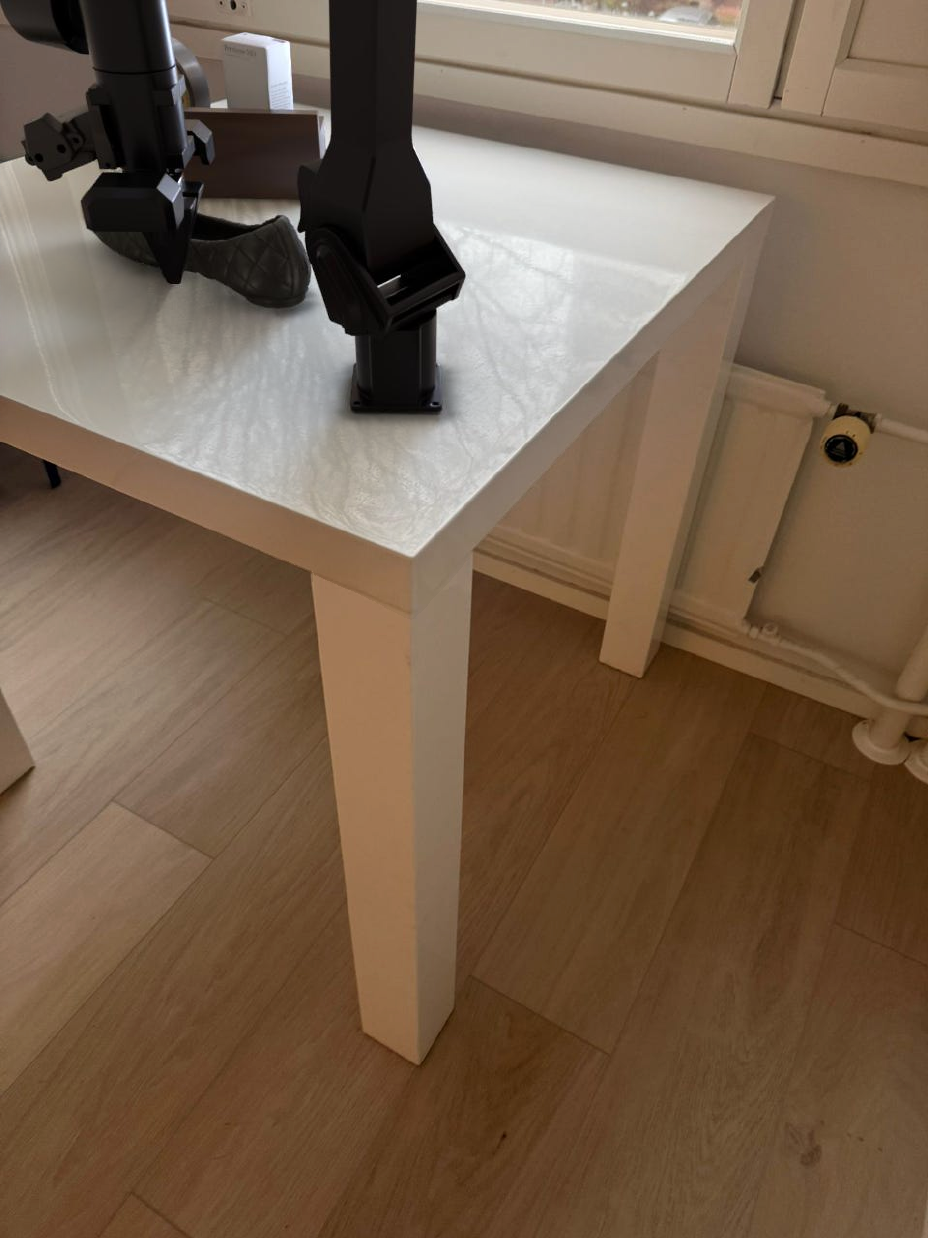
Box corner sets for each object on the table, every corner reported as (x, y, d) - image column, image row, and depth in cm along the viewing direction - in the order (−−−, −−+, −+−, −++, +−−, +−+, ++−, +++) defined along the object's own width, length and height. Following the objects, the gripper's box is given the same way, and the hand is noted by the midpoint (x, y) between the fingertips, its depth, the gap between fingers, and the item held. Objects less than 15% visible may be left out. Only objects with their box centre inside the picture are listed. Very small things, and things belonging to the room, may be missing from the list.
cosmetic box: (231, 164, 102) (215, 38, 94) (257, 154, 105) (243, 30, 97) (275, 175, 100) (262, 46, 92) (300, 164, 103) (290, 38, 95)
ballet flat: (138, 220, 89) (121, 137, 84) (346, 290, 79) (341, 201, 74) (64, 247, 84) (42, 160, 79) (277, 326, 74) (267, 233, 69)
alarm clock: (114, 157, 103) (76, -18, 91) (140, 143, 106) (107, -26, 95) (202, 170, 100) (175, -8, 89) (225, 155, 104) (202, -17, 93)
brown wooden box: (323, 199, 95) (317, 114, 90) (127, 195, 94) (108, 109, 89) (327, 176, 100) (322, 94, 95) (141, 172, 99) (125, 89, 94)
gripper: (54, 36, 71) (101, 241, 82) (-30, 94, 57) (40, 332, 68) (200, 39, 72) (228, 242, 82) (152, 98, 58) (193, 333, 68)
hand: (174, 283), depth 75 cm, fingers closed
